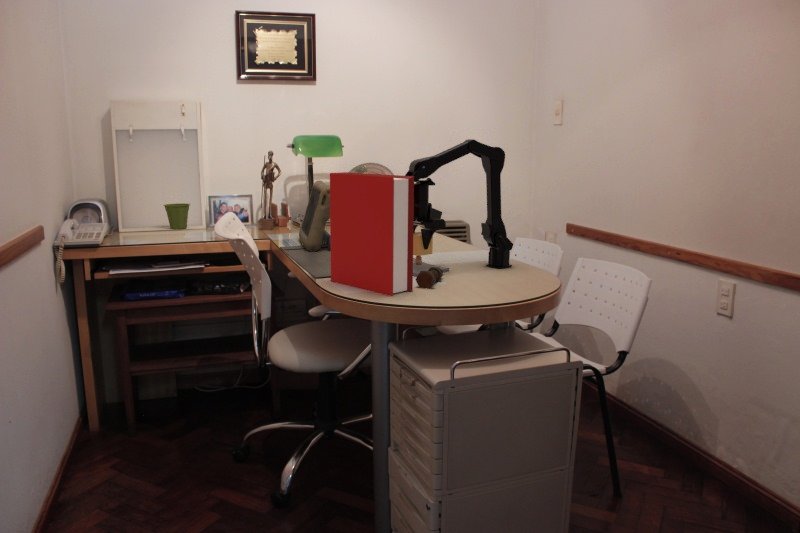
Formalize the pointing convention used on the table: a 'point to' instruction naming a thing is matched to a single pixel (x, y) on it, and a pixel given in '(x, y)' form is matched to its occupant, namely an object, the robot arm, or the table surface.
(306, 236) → the rugged handheld device
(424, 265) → the junction plate
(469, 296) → the table surface
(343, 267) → the book
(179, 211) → the plant pot
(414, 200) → the robot arm
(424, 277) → the bolt
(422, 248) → the wooden toy cube
